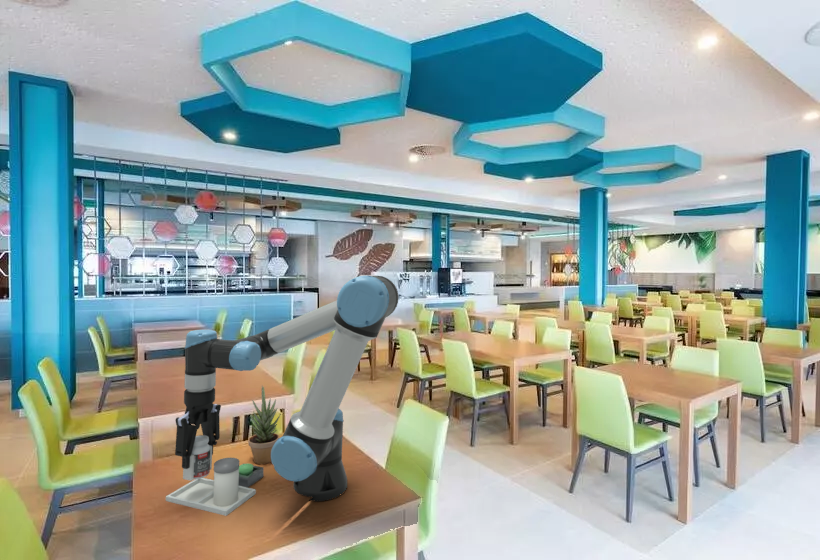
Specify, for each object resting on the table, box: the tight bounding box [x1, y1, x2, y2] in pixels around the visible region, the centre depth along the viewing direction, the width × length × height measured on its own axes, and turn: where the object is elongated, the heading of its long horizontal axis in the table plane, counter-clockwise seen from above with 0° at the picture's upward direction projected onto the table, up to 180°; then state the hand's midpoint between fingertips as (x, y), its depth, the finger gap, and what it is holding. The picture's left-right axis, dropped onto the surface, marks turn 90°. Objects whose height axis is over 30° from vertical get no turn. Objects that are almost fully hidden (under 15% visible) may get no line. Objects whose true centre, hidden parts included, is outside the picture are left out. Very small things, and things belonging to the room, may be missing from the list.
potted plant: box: [247, 385, 281, 465], centre depth 142 cm, size 10×10×25 cm
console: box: [239, 464, 264, 488], centre depth 126 cm, size 7×7×4 cm
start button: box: [239, 463, 254, 476], centre depth 126 cm, size 4×4×2 cm
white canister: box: [213, 457, 240, 507], centre depth 115 cm, size 6×6×10 cm
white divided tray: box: [165, 477, 257, 517], centre depth 116 cm, size 20×13×2 cm, turn 72°
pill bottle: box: [192, 434, 211, 480], centre depth 118 cm, size 6×6×10 cm
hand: (197, 473), depth 118 cm, fingers closed on pill bottle, 6 cm apart
